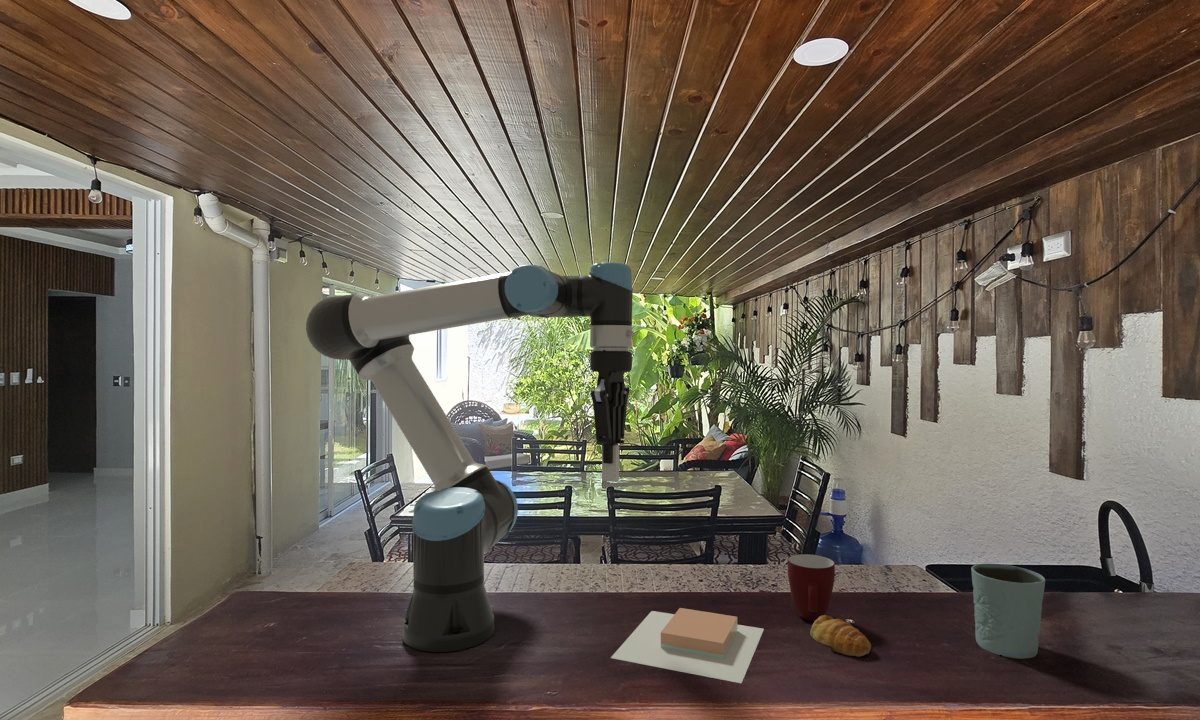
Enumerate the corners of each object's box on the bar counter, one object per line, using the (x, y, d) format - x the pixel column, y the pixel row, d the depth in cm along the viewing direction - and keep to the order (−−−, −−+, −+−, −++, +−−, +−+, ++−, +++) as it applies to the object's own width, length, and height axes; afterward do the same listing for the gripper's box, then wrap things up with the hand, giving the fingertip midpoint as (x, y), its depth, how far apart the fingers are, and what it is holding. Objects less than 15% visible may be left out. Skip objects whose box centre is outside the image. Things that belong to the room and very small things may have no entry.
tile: (660, 632, 105) (679, 607, 115) (660, 647, 105) (679, 621, 115) (723, 643, 101) (737, 616, 111) (723, 659, 101) (737, 631, 111)
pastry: (881, 652, 105) (881, 629, 105) (854, 664, 102) (854, 639, 101) (831, 631, 113) (831, 609, 113) (805, 641, 109) (805, 618, 109)
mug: (843, 632, 112) (843, 574, 112) (794, 630, 113) (794, 572, 113) (828, 608, 123) (829, 554, 122) (784, 606, 124) (784, 553, 123)
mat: (610, 661, 102) (610, 657, 102) (651, 614, 120) (651, 610, 120) (741, 687, 94) (741, 683, 94) (764, 632, 112) (764, 628, 112)
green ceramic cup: (963, 646, 107) (963, 572, 107) (979, 627, 114) (980, 558, 114) (1037, 667, 100) (1038, 588, 100) (1049, 645, 107) (1050, 571, 107)
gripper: (616, 349, 112) (616, 489, 112) (643, 350, 124) (642, 476, 124) (576, 349, 115) (576, 485, 115) (605, 349, 127) (605, 472, 127)
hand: (610, 480), depth 119 cm, fingers closed
